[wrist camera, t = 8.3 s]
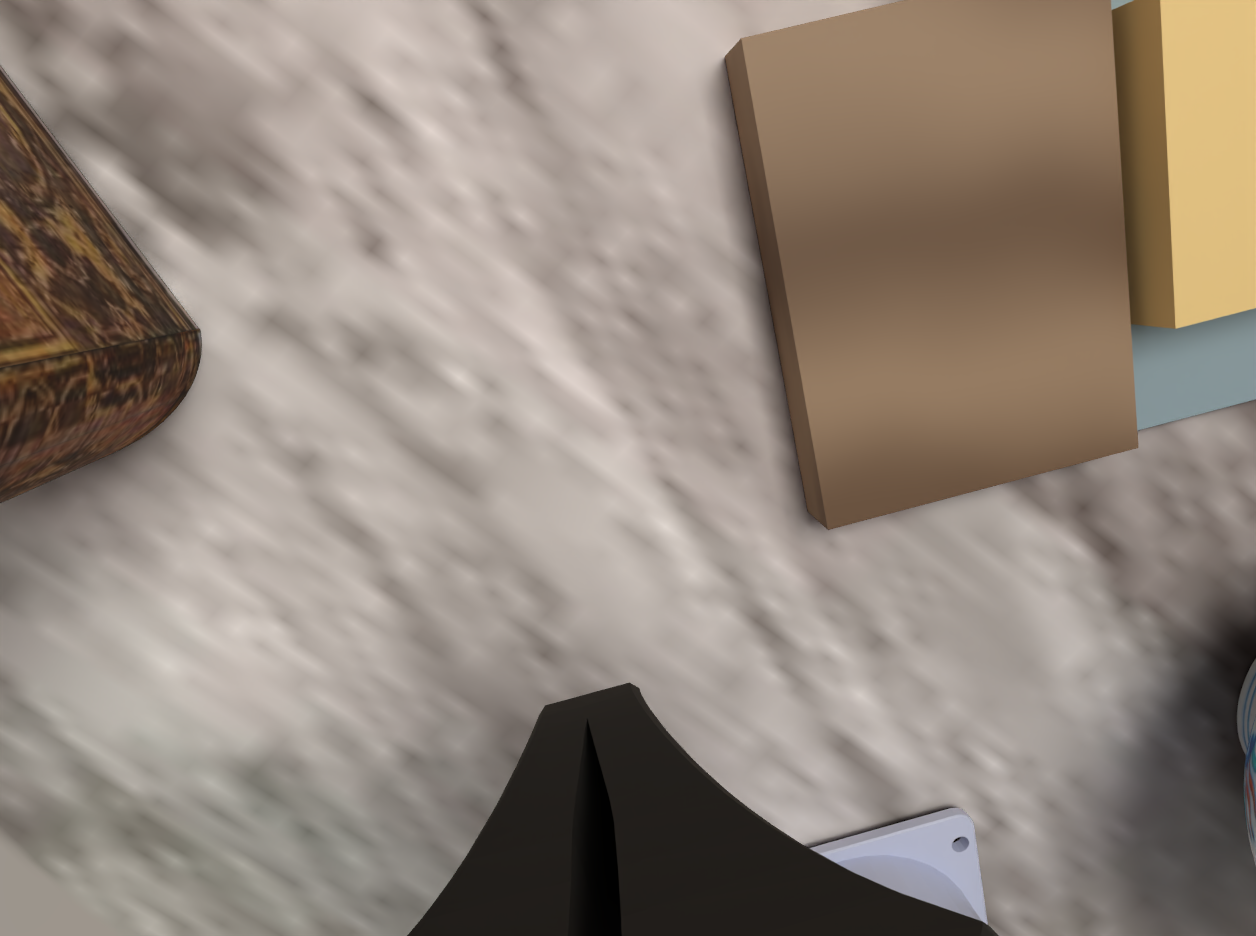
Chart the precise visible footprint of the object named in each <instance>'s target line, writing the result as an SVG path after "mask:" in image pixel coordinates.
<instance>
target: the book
mask: <svg viewBox="0 0 1256 936" xmlns="http://www.w3.org/2000/svg"><path fill="white" fill-rule="evenodd" d="M200 357H201V332H200V329H199V328H198V327H197V326H196V324H195V323H194V322H193V320H192V319H191V318H190V316H189V315H188V314H187V312H186V311H185V310H184V308H183V307H182V306H181V304H180V303H179V302H178V300H177V299H176V298H175V297H174V295H173V294H172V293H171V291H170V290H169V289H168V287H167V286H166V285H165V283H164V282H163V281H162V279H161V278H160V277H159V275H158V274H157V273H156V271H155V270H154V269H153V267H152V266H151V265H150V263H149V262H148V261H147V259H146V258H145V257H144V255H143V254H142V253H141V251H140V250H139V249H138V247H137V246H136V245H135V243H134V242H133V241H132V239H131V238H130V237H129V235H128V234H127V233H126V232H125V230H124V229H123V228H122V226H121V225H120V224H119V222H118V221H117V220H116V218H115V217H114V216H113V214H112V213H111V212H110V210H109V209H108V208H107V206H106V205H105V204H104V202H103V201H102V200H101V198H100V197H99V196H98V194H97V193H96V192H95V190H94V189H93V188H92V186H91V185H90V184H89V182H88V181H87V180H86V178H85V177H84V176H83V174H82V173H81V172H80V171H79V169H78V168H77V167H76V165H75V164H74V163H73V161H72V160H71V159H70V157H69V156H68V155H67V153H66V152H65V151H64V149H63V148H62V147H61V145H60V144H59V143H58V141H57V140H56V139H55V137H54V136H53V135H52V133H51V132H50V131H49V129H48V128H47V127H46V125H45V124H44V123H43V121H42V120H41V119H40V117H39V116H38V115H37V113H36V112H35V111H34V110H33V108H32V107H31V106H30V104H29V103H28V102H27V100H26V99H25V98H24V96H23V95H22V94H21V92H20V91H19V90H18V88H17V87H16V86H15V84H14V83H13V82H12V80H11V79H10V78H9V76H8V75H7V74H6V72H5V71H4V70H3V68H2V67H1V66H0V503H2V502H4V501H7V500H9V499H11V498H13V497H15V496H18V495H20V494H22V493H24V492H27V491H29V490H31V489H33V488H36V487H38V486H40V485H42V484H45V483H47V482H49V481H51V480H53V479H56V478H58V477H60V476H62V475H65V474H67V473H69V472H71V471H74V470H76V469H78V468H80V467H83V466H85V465H87V464H89V463H91V462H94V461H96V460H98V459H100V458H103V457H105V456H107V455H109V454H112V453H114V452H116V451H118V450H121V449H122V448H124V447H126V446H128V445H130V444H131V443H133V442H135V441H137V440H139V439H140V438H142V437H143V436H145V435H146V434H148V433H149V432H150V431H152V430H153V429H154V428H156V427H157V426H158V425H159V424H160V423H162V422H163V421H164V420H165V419H166V418H167V417H168V416H169V415H170V414H171V413H172V412H173V411H174V410H175V409H176V408H177V406H178V405H179V404H180V402H181V401H182V400H183V398H184V397H185V396H186V394H187V392H188V390H189V389H190V387H191V385H192V383H193V381H194V378H195V376H196V373H197V370H198V366H199V363H200Z"/></svg>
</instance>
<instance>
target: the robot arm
mask: <svg viewBox="0 0 1256 936" xmlns="http://www.w3.org/2000/svg"><path fill="white" fill-rule="evenodd" d="M958 837H961V838H960V839H959V840H958V841H956V842H953V841H954V840H955V839H956V838H958ZM407 936H998V935H997V934H996V933H995V931H994V930H993V929H992V928H991V927H990V926H989V925H988V923H987V916H986V908H985V901H984V894H983V887H982V879H981V872H980V865H979V858H978V850H977V843H976V836H975V829H974V824H973V821H972V819H971V818H970V816H969V815H968V814H967V813H966V812H965V811H964V810H963V809H960V808H949V809H946V810H942V811H939V812H935V813H932V814H928V815H925V816H921V817H918V818H914V819H911V820H907V821H904V822H900V823H896V824H893V825H889V826H886V827H882V828H879V829H875V830H872V831H868V832H865V833H861V834H858V835H854V836H851V837H847V838H844V839H840V840H837V841H833V842H829V843H826V844H822V845H819V846H815V847H812V848H808V847H806V846H804V845H802V844H801V843H799V842H797V841H796V840H794V839H793V838H791V837H790V836H788V835H787V834H785V833H784V832H782V831H781V830H779V829H778V828H776V827H774V826H773V825H771V824H770V823H769V822H767V821H766V820H764V819H763V818H762V817H760V816H759V815H758V814H756V813H755V812H753V811H752V810H751V809H749V808H748V807H747V806H745V805H744V804H743V803H742V802H740V801H739V800H738V799H736V798H735V797H734V796H733V795H732V794H730V793H729V792H728V791H727V790H726V789H724V788H723V787H722V786H721V785H720V784H719V783H718V782H717V781H715V780H714V779H713V778H712V777H711V776H710V775H709V774H708V773H707V772H705V771H704V770H703V769H702V768H701V767H700V766H699V765H698V764H697V763H696V762H695V761H694V760H693V759H692V758H691V757H690V756H689V755H688V754H687V753H686V751H685V750H684V749H683V748H682V747H681V746H680V745H679V744H678V743H677V742H676V741H675V740H674V739H673V738H672V736H671V735H670V734H669V733H668V732H667V731H666V729H665V728H664V727H663V726H662V724H661V723H660V722H659V720H658V719H657V718H656V717H655V715H654V714H653V713H652V711H651V710H650V708H649V707H648V705H647V704H646V702H645V700H644V698H643V697H642V695H641V692H640V689H639V688H638V687H636V686H634V685H633V684H631V683H627V684H623V685H619V686H616V687H612V688H608V689H605V690H601V691H597V692H594V693H590V694H586V695H582V696H579V697H575V698H571V699H568V700H564V701H560V702H557V703H553V704H549V705H545V707H544V708H543V710H542V712H541V713H540V715H539V717H538V719H537V722H536V724H535V727H534V729H533V731H532V733H531V736H530V738H529V740H528V743H527V745H526V747H525V749H524V751H523V753H522V756H521V758H520V760H519V762H518V764H517V766H516V768H515V770H514V772H513V774H512V776H511V778H510V780H509V782H508V784H507V786H506V788H505V790H504V792H503V794H502V796H501V798H500V799H499V801H498V803H497V805H496V807H495V809H494V811H493V812H492V814H491V816H490V817H489V819H488V821H487V822H486V824H485V826H484V828H483V829H482V831H481V833H480V834H479V836H478V838H477V839H476V841H475V843H474V844H473V846H472V848H471V849H470V851H469V853H468V854H467V856H466V858H465V859H464V861H463V862H462V864H461V865H460V867H459V868H458V870H457V871H456V873H455V874H454V876H453V877H452V879H451V880H450V882H449V883H448V884H447V886H446V887H445V888H444V890H443V891H442V893H441V894H440V895H439V897H438V898H437V899H436V901H435V902H434V903H433V905H432V906H431V907H430V909H429V910H428V911H427V913H426V914H425V915H424V916H423V918H422V919H421V920H420V921H419V923H418V924H417V925H416V926H415V927H414V928H413V930H412V931H411V932H410V933H409V934H408V935H407Z"/></svg>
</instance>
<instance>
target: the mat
mask: <svg viewBox="0 0 1256 936" xmlns="http://www.w3.org/2000/svg"><path fill="white" fill-rule="evenodd" d="M1131 1H1133V0H1111V9H1112V10H1113V9H1115V8H1118V7H1120V6H1122V5H1124V4H1127V3H1129V2H1131ZM1131 335H1132V352H1133V368H1134V384H1135V400H1136V417H1137V430H1141V429H1145V428H1149V427H1152V426H1156V425H1160V424H1164V423H1168V422H1171V421H1175V420H1179V419H1183V418H1187V417H1190V416H1194V415H1198V414H1202V413H1206V412H1209V411H1213V410H1217V409H1221V408H1225V407H1228V406H1232V405H1236V404H1240V403H1244V402H1247V401H1251V400H1255V399H1256V308H1254V309H1250V310H1246V311H1242V312H1239V313H1235V314H1231V315H1227V316H1223V317H1219V318H1215V319H1212V320H1208V321H1204V322H1200V323H1196V324H1192V325H1188V326H1184V327H1181V328H1177V329H1173V328H1163V327H1153V326H1144V325H1134V324H1131Z"/></svg>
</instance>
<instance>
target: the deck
mask: <svg viewBox="0 0 1256 936" xmlns="http://www.w3.org/2000/svg"><path fill="white" fill-rule="evenodd" d="M725 61H726V66H727V72H728V77H729V83H730V88H731V94H732V99H733V105H734V110H735V116H736V121H737V127H738V132H739V138H740V143H741V149H742V154H743V159H744V165H745V170H746V176H747V181H748V187H749V192H750V198H751V203H752V209H753V214H754V220H755V225H756V231H757V236H758V242H759V247H760V252H761V258H762V263H763V269H764V274H765V280H766V285H767V291H768V296H769V302H770V307H771V313H772V318H773V324H774V329H775V335H776V340H777V346H778V351H779V356H780V362H781V367H782V373H783V378H784V384H785V389H786V395H787V400H788V406H789V411H790V417H791V422H792V428H793V433H794V439H795V444H796V450H797V455H798V460H799V466H800V471H801V477H802V482H803V488H804V493H805V499H806V504H807V510H808V512H809V513H810V514H811V515H812V516H814V517H815V518H816V519H817V520H818V521H819V522H820V523H821V524H822V525H823V526H824V527H826V528H827V529H828V530H829V529H833V528H837V527H841V526H844V525H848V524H852V523H856V522H860V521H863V520H867V519H871V518H875V517H879V516H882V515H886V514H890V513H894V512H897V511H901V510H905V509H909V508H913V507H916V506H920V505H924V504H928V503H931V502H935V501H939V500H943V499H947V498H950V497H954V496H958V495H962V494H965V493H969V492H973V491H977V490H981V489H984V488H988V487H992V486H996V485H999V484H1003V483H1007V482H1011V481H1015V480H1018V479H1022V478H1026V477H1030V476H1033V475H1037V474H1041V473H1045V472H1049V471H1052V470H1056V469H1060V468H1064V467H1067V466H1071V465H1075V464H1079V463H1083V462H1086V461H1090V460H1094V459H1098V458H1102V457H1105V456H1109V455H1113V454H1117V453H1120V452H1124V451H1128V450H1132V449H1136V448H1138V433H1137V417H1136V400H1135V384H1134V368H1133V352H1132V335H1131V319H1130V303H1129V286H1128V270H1127V254H1126V237H1125V221H1124V205H1123V189H1122V172H1121V156H1120V140H1119V123H1118V107H1117V91H1116V75H1115V58H1114V42H1113V26H1112V9H1111V0H904V1H899V2H895V3H891V4H887V5H882V6H878V7H874V8H869V9H865V10H861V11H857V12H852V13H848V14H844V15H839V16H835V17H831V18H827V19H822V20H818V21H814V22H809V23H805V24H801V25H797V26H792V27H788V28H784V29H780V30H775V31H771V32H767V33H762V34H758V35H754V36H750V37H745V38H741V39H740V40H739V42H738V43H737V44H736V45H735V46H734V47H733V48H732V49H731V50H730V51H729V53H728V54H727V55H726V56H725Z"/></svg>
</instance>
